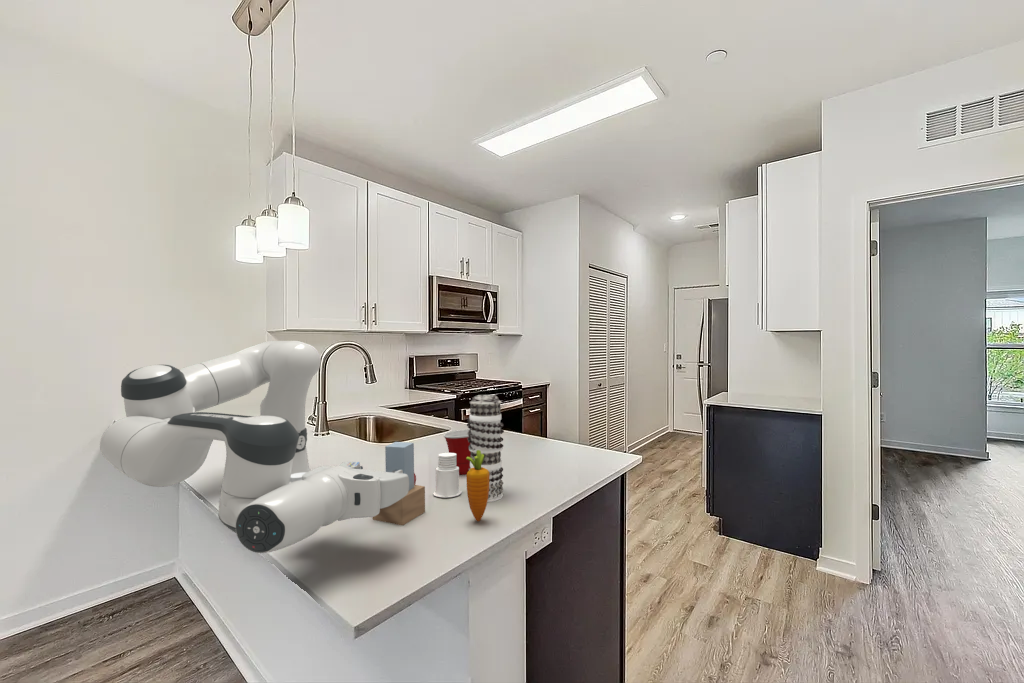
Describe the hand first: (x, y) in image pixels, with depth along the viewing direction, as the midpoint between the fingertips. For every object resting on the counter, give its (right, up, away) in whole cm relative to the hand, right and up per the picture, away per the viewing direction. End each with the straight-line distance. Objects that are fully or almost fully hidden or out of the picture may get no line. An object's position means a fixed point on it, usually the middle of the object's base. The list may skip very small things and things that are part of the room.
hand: (379, 471), depth 91 cm
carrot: (+20, -12, +4) cm, 24 cm away
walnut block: (+2, -12, +8) cm, 15 cm away
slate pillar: (+2, -6, +8) cm, 10 cm away
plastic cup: (+12, -12, +40) cm, 44 cm away
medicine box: (-13, -12, +17) cm, 24 cm away
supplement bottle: (-19, -12, +6) cm, 24 cm away
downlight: (+11, -12, +22) cm, 27 cm away
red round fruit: (0, -12, +21) cm, 24 cm away
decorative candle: (+21, -12, +20) cm, 31 cm away
